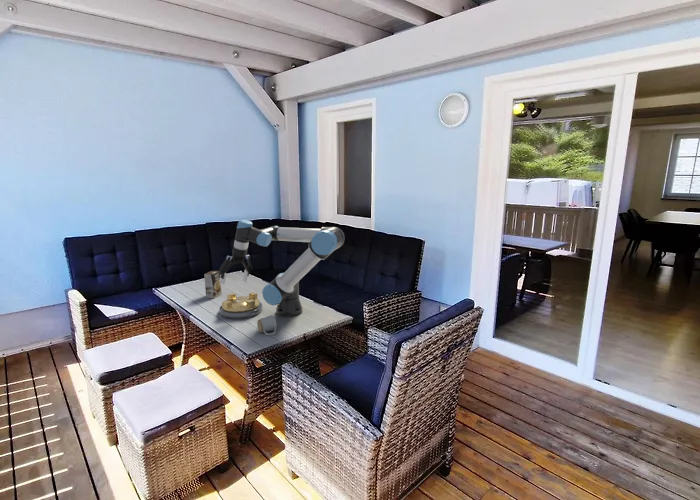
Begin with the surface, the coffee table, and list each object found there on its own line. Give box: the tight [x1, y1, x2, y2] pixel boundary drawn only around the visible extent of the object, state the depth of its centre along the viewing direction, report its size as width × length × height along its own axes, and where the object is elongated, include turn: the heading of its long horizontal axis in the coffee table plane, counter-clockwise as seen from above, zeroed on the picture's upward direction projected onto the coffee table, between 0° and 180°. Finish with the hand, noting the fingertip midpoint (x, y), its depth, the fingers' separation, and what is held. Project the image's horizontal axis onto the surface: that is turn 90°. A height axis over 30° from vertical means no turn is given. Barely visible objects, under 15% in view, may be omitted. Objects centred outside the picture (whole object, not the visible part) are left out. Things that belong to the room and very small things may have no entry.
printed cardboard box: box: [203, 270, 223, 299], centre depth 239 cm, size 9×6×16 cm
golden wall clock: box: [221, 291, 260, 313], centre depth 214 cm, size 21×21×6 cm
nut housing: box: [218, 301, 263, 320], centre depth 215 cm, size 24×24×3 cm
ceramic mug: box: [256, 314, 277, 337], centre depth 187 cm, size 11×8×8 cm
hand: (233, 282), depth 207 cm, fingers open, 13 cm apart
